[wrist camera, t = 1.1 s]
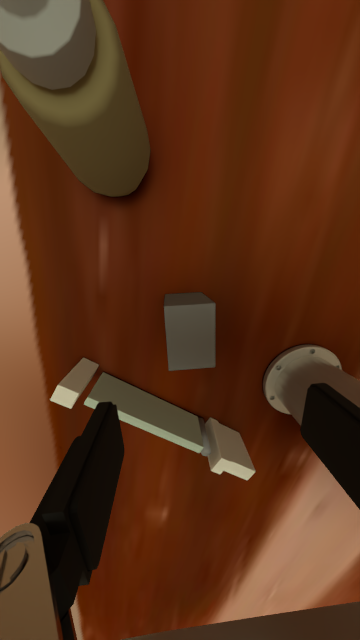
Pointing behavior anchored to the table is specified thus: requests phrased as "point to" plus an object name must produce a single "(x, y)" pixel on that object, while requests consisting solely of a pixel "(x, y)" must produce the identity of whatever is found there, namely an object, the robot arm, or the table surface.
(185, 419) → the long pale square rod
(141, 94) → the table surface
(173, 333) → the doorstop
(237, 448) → the pale rectangular blocks
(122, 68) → the squeeze bottle
